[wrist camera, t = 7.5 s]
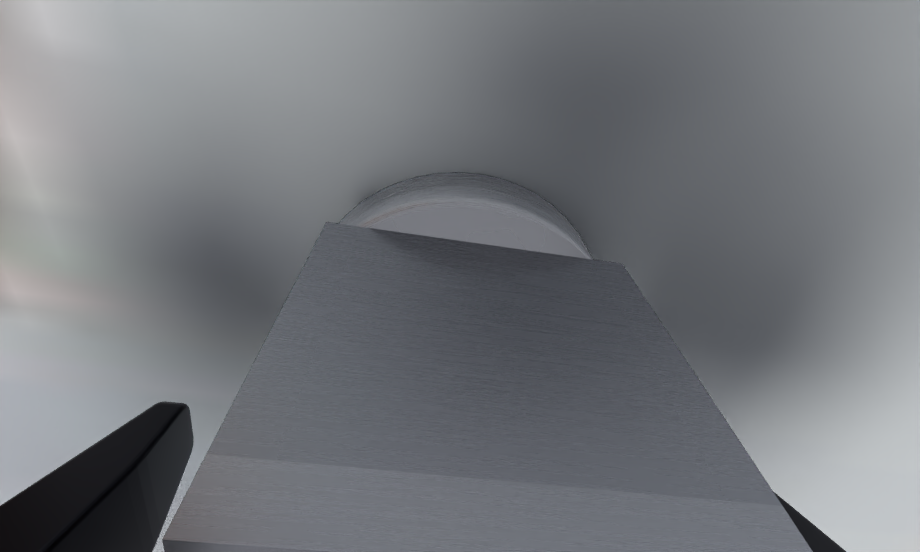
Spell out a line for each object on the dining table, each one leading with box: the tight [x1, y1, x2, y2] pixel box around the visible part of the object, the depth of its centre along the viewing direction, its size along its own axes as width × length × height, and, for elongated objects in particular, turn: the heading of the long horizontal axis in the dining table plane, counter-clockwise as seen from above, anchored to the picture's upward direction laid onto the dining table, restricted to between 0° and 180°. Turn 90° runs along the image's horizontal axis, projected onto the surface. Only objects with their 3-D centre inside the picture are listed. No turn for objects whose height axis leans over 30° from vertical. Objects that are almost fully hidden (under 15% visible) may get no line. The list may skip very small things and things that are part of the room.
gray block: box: [162, 222, 813, 552], centre depth 8 cm, size 6×6×6 cm
